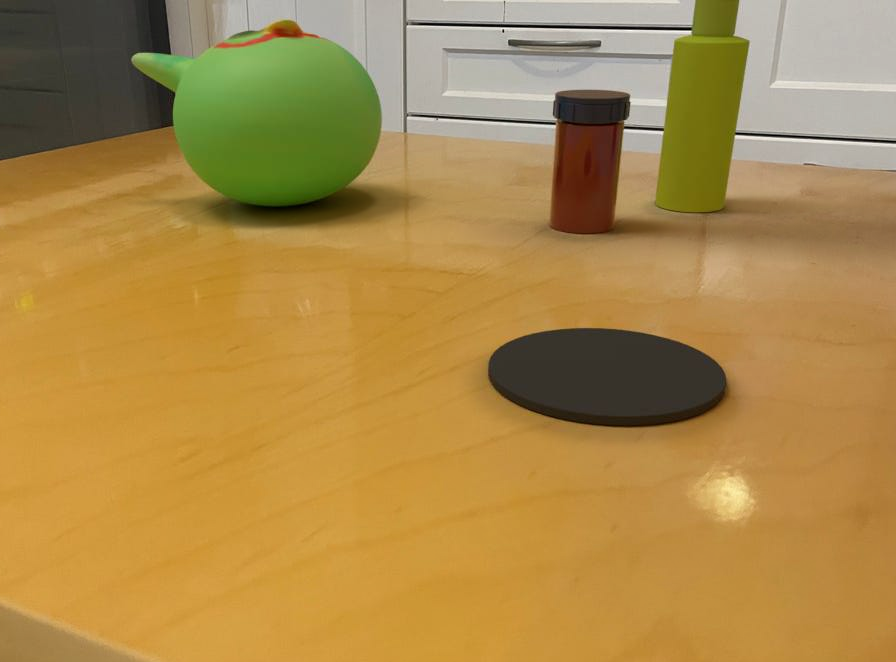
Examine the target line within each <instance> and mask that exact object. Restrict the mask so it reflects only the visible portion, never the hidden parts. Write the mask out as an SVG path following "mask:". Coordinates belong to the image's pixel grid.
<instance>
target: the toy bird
mask: <svg viewBox="0 0 896 662" xmlns="http://www.w3.org/2000/svg"><path fill="white" fill-rule="evenodd" d="M131 63H132V65H133V66H134V67H135V68H136V69H138V70H139V71H140V72H142V73H143V74H144V75H146V76H148V78H151V79H152V80H154V81H156V82H157V83H159V84H161V85H162V86H163V87H165V88H167V89H169V90H170V91H172V92H174V93H175V97H174V99H173V105H172V106H173V107H172V124H173V125H172V126H173V131H174V136H175V140H176V142H177V145H178V148H179V150H180V152H181V154H182V156H183V158H184V160H185V162H186V163H187V164H188V166H189V167H190V169H191V170H192V171H193V173H194V174H196V176H197V177H198V178H199V179H200V180H201V181H203V183H204V184H206V185H207V186H209V188H211V189H212V190H214V191H216V192H217V193H219V194H221V195H223V196H225V197H227V198H229V199H232V200H234V201H236V202H241V203H244V204H249V205H254V206H261V207H290V206H297V205H303V204H304V205H305V204H309V203H312V202H315V201H319V200H322V199H324V198H327V197H330V196H331V195H334V194H336V193H337V192H339V191H340V190H343V189H344V188H345V187H348V185H350V184H351V183H353V181H355V180H356V179H357V178H358V177H359V176H360V175H361V174H363V172H364V171H365V169H366V168H367V167H368V165H369V164H370V162H371V161H372V159H373V157H374V156H375V153H376V151H377V149H378V145H379V143H380V142H379V141H380V138H381V135H382V134H381V133H382V126H383V125H382V124H383V113H382V105H381V101H380V97H379V93H378V90H377V88H376V86H375V84H374V81H373V79H372V77H371V76H370V74H369V72H368V71H367V69H366V68H365V67H364V65H363V64H362V63H361V62H360V61H359V60H358V59H357V58H356V56H354V55H353V54H352V53H351V52H350V51H349V50H347V49H346V48H344V47H342V46H341V45H339V44H338V43H336V42H334V41H332V40H330V39H328V38H325V37H320V36H319V35H317V34H315V33H310V32H307V31H306V32H305V31H303V29H302V28H301V27H300V25H299V24H298V23H297V22H296V21H295V20H293V19H287V18H285V19H284V18H283V19H278V20H276V21H274V22H272V23H270V24H268V25H267V26H265V27H264V28H262V29H259V30H250V29H249V30H245V31H244V30H243V31H241V32H237V33H234V34H232V35H231V36H229V37H228V38H226V39H224V40H221V41H220V42H218V43H216V44H214V45H212V46H211V47H209V48H208V49H206V50H205V51H204V52H202V53H201V54H200V55H199V56H198V57H189V56H181V55H174V54H166V53H157V52H138V53H135V54H133V55H132V57H131Z"/></svg>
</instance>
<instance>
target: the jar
mask: <svg viewBox="0 0 896 662" xmlns="http://www.w3.org/2000/svg"><path fill="white" fill-rule="evenodd" d="M554 131H555V133H554V147H553V161H552V176H551V178H552V179H551V190H550V206H549V218H548V219H549V220H548V224H549V227H550V228H552V229H554V230H557V231H560V232H565V233H572V234H599V233H605V232H610V231H611V230H613V229H614V227H615V222H616V211H617V202H618V201H617V200H618V191H619V182H620V173H621V163H622V162H621V161H622V153H623V152H622V151H623V142H624V132H625V120H624V121H621V122H612V123H578V122H568V121H562V120H558V119H556V120H555V130H554Z"/></svg>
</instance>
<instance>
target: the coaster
mask: <svg viewBox="0 0 896 662" xmlns="http://www.w3.org/2000/svg"><path fill="white" fill-rule="evenodd" d="M487 365H488V367H487V375H488V379H489V381H490V383H491V384H492V387H494V389H495V390H496V391H497V392H499V393H500V394H501V395H502V396H503V397H505V398H506V399H508V400H509V401H510V402H513V403H515V404H516V405H518V406H521V407H523V408H526V409H529V410H531V411H533V412H536V413H540V414H541V415H545V416H550V417H554V418H557V419H561V420H566V421H572V422H578V423H584V424H593V425H605V426H628V427H629V426H649V425H659V424H665V423H673V422H678V421H681V420H686V419H689V418H692V417H695V416H698V415H700V414H702V413H705V412H707V411H710V410H711V408H713V407H715V406H716V405H717V404H718V403H719V402H720V401H721V400H722V399H723V397H724V394H725V392H726V387H727V376H726V375H727V374H726V372H725V371H724V369H723V367H722V366H721V365H720V364H719V363H718V362H717V361H716V360H715V359H713V357H711V356H710V355H708V354H707V353H705V352H703V351H702V350H699V349H698V348H695V347H693V346H691V345H688V344H685V343H684V342H680V341H677V340H674V339H671V338H668V337H663V336H660V335H655V334H652V333H646V332H640V331H634V330H626V329H618V328H603V327H602V328H601V327H572V328H559V329H551V330H544V331H539V332H534V333H533V332H532V333H529V334H525V335H523V336H519V337H516V338H513V339H511V340H510V341H507V342H505V343H504V344H502V345H501V346H499V347H497V349H496V350H494V351H493V353H492V354H491V356H490V357H489V360H488V363H487Z"/></svg>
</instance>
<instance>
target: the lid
mask: <svg viewBox="0 0 896 662" xmlns="http://www.w3.org/2000/svg"><path fill="white" fill-rule="evenodd" d="M630 100H631V94H630V93H628V92H625V91H619V90H608V89H567V90H560V91H557V92H555V94H554V100H553V105H552V106H553V107H552V117H553V118H554V119H556V120H557V119H558V120H562V121H568V122H578V123H612V122H621V121H624V122H625V121H627V120H628V119H629V117H630V111H631V103H632V102H631V101H630Z"/></svg>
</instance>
